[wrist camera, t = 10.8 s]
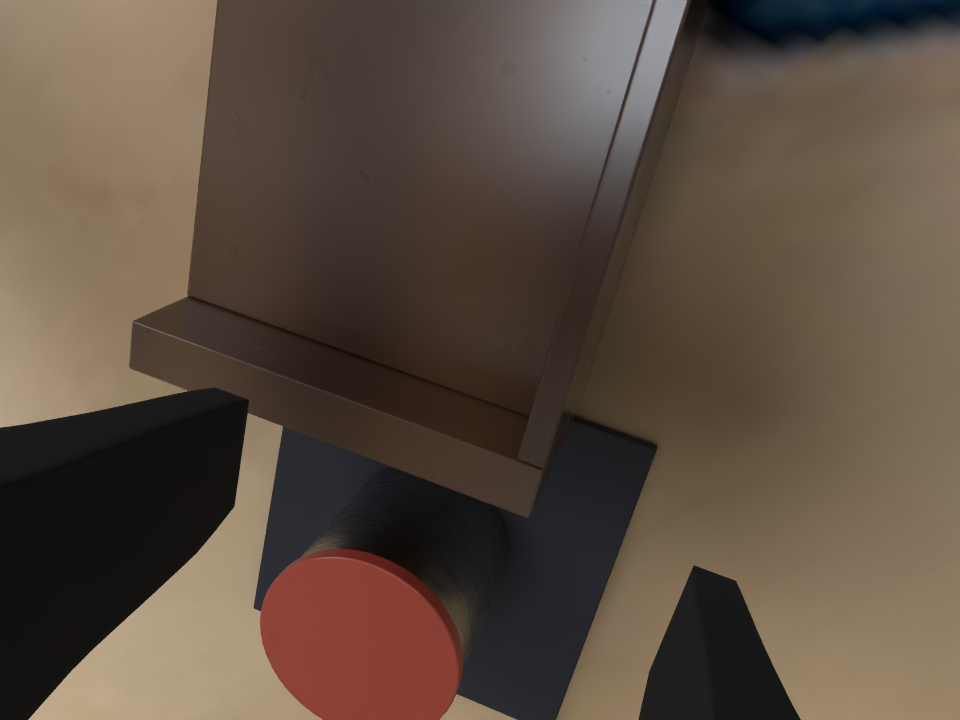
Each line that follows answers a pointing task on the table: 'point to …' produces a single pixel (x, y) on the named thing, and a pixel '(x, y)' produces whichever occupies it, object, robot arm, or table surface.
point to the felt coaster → (532, 566)
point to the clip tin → (387, 602)
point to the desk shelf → (420, 221)
